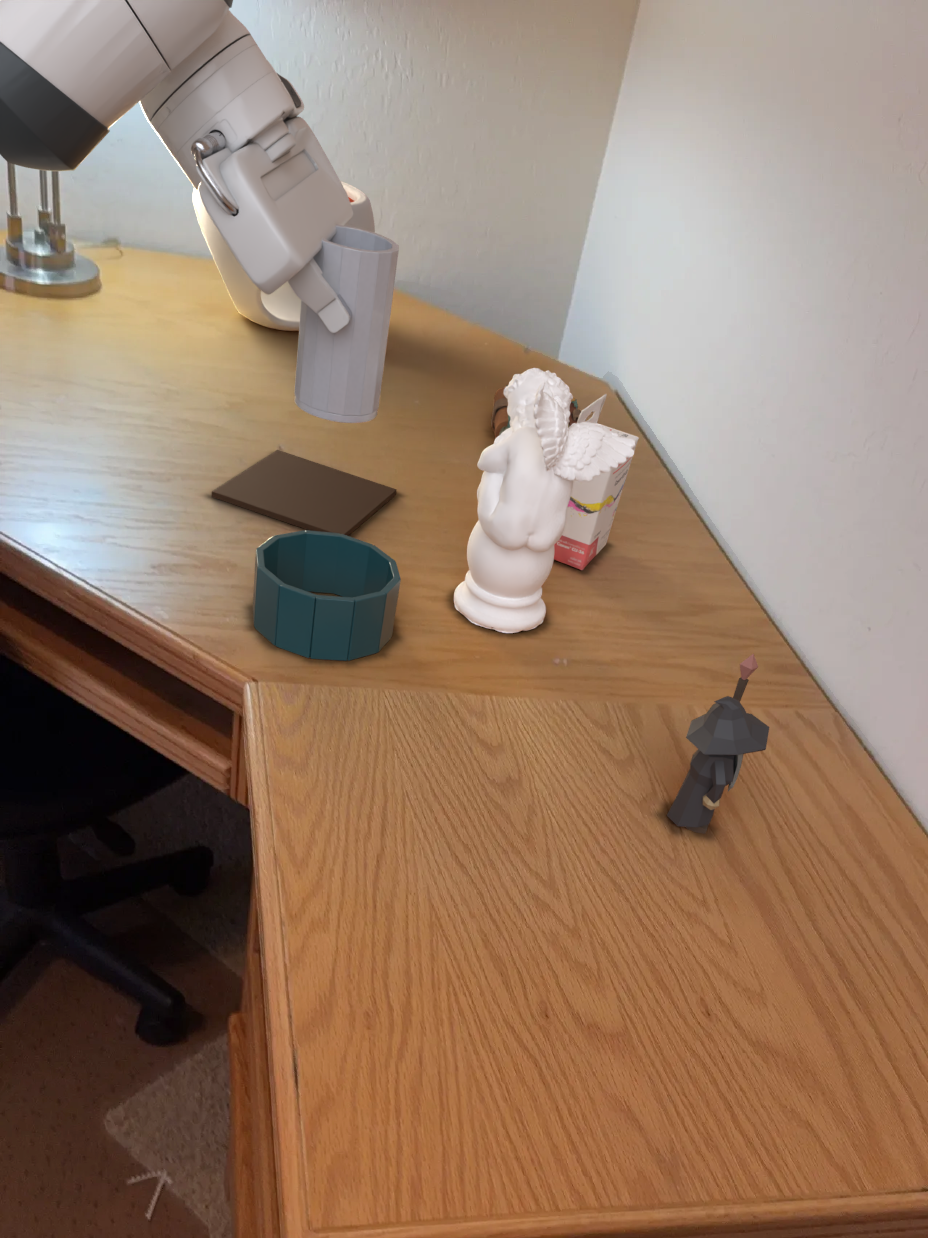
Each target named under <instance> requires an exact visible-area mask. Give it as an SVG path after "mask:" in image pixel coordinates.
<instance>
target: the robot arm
mask: <svg viewBox="0 0 928 1238" xmlns="http://www.w3.org/2000/svg"><path fill="white" fill-rule="evenodd" d="M233 3H234V0H0V156H1V158H3V160H4V161H6V162H7V163H8V164H11V165H15V166H19V167H23V168H26V169H32V170H39V171H44V172H45V171H47V172H48V171H49V172H71V171H73V172H74V171H75V170H76V169H77V168H78V167H79V166H80V165H81V164H82V163H83V162H84V161H85V159H86V158H87V157H88V156H89V155H90V154H91V153H92V152H93V151H94V149H95V148H96V147H97V146H98V145H99V144H100V143H101V142H102V141H103V140H104V139H105V137H106V136H107V135H108V134H109V133H110V132H111V129H110V128H111V127H112V126H114V124H116V123H117V122H118V121H119V120H120V119H122V117H124V116H125V115H126V114H127V113H128V112H129V111H131V109H133V108H134V107H135V106H137V104H138V103H139V105H140V108H141V110H142V113H143V114H144V117H145V118H146V120H147V122H148V123H149V125H150V126H151V128H152V129H153V130H154V132H155V133H156V135H157V136H158V137H159V139H160V140H161V142H162V143H163V145H164V147H166V150H168V152H169V153H170V155H171V156H172V157H173V159H174V161H175V162H176V163H177V165H178V166H179V168H180V169H181V170H182V172H183V173H184V175H185V176H186V177H187V179H188V181H189V183H191V185H192V186H193V188H194V187H195V189H196V190H199V195H200V198H201V200H202V203H203V205H204V207H205V209H206V211H207V212H208V214H209V216H210V218H211V219H212V221H213V223H214V224H215V226H216V228H217V229H218V231H219V232H220V234H221V236H222V237H223V239H224V240H225V242H226V244H227V245H228V247H229V248H230V250H231V251H232V253H233V255H234V256H235V258H236V259H237V261H238V262H239V264H240V265H241V267H242V268H243V270H244V271H245V273H246V274H247V276H248V277H249V279H250V280H251V281H252V282H253V283H254V284H255V285H256V286H257V287H258V288H259V289H260V290H261V291H263V292H264V293H265V294H271V293H273V292H274V291H275V290H277V289H278V288H279V287H281V286H282V285H283V284H285V283H286V282H287V283H288V284H289V286H290V287H291V288H292V290H293V291H294V293H295V294H296V296H297V297H298V298H300V299H301V300H302V301H303V302H304V303H305V304H306V305H307V306H309V307H310V308H311V309H312V310H313V311H314V312H315V313H317V314H318V316H319V317H320V319H321V320H322V322H323V323H324V324H325V326H326V327H327V329H328V330H329V331H330V332H331V333H337V332H338V331H339V330H341V329H342V328H343V327H345V326H346V325H347V324H348V323H349V321H350V320H351V318H352V311H351V310H350V308H349V307H348V306H347V304H346V302H345V301H344V299H343V298H342V296H341V295H340V294H339V295H337V294H336V293H335V292H334V290H333V289H332V288H331V286H330V285H329V284H328V283H327V281H326V280H325V279H324V278H323V276H322V271H321V269H320V267H319V266H318V264H317V263H316V261H315V260H314V258H313V257H314V256H315V255H316V254H317V253H318V252H319V251H320V250H321V249H322V246H323V244H322V239H325V240H327V241H330V240H331V239H332V238H333V236H334V235H335V234H336V232H337V229H336V227H335V225H345V224H346V223H347V222H348V221H349V220H350V219H351V218H352V216H353V210H352V207H351V204H350V201H349V198H348V196H347V193H346V191H345V189H344V187H343V185H342V183H341V181H342V180H341V179H340V177H339V176H338V174H337V173H336V170H335V169H334V167H333V165H332V163H331V161H330V159H329V158H328V156H327V154H326V152H325V150H324V149H323V147H322V145H321V143H320V141H319V140H318V139H317V137H316V135H315V133H314V131H313V130H312V128H311V127H310V125H309V124H308V123H307V121H306V120H304V118H303V117H301V116H299V115H300V114H301V113H302V112H303V111H304V110H305V104H304V101H303V100H302V98H301V96H300V94H299V93H298V92H297V90H296V88H295V86H294V85H293V83H291V82H290V81H289V80H288V79H287V78H286V77H284V76H283V75H281V74H279V73H278V72H277V71H276V69H275V68H274V67H273V65H272V64H271V62H270V61H268V59H267V57H266V56H265V55H264V53H263V52H262V50H261V48H260V47H259V45H258V44H257V42H256V40H255V39H254V37H253V36H252V34H251V32H250V30H248V28H247V27H246V26H245V25H244V24H243V23H242V21H240V20H239V19H238V18H237V16H236V15H234V14H233V13H232V11H231V10H230V9H231V8H232V7H233Z"/></svg>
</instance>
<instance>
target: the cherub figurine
mask: <svg viewBox="0 0 928 1238" xmlns="http://www.w3.org/2000/svg"><path fill="white" fill-rule="evenodd" d="M507 385H508V386H507V387H506V386H504V387H505V389H504V396H505V397H506V398H507V399H508V407H507V413H508V415H509V416H510V418H511V420H510V428H508V429H506V430H505V431H504V432H502V433H501V435H499V436H498V437H497V438H496V439H495V438H494V441H493V444H491V445H488V446H487V447H486V448H484V449H483V450H482V452H481V454H480V456H479V459H478V461H477V465H476V466H477V469H479V470H480V471H483V472H482V475H481V479H480V482H479V485H478V487H477V490H476V499H477V518H478V520H477V522H476V523H475V525H474V527H473V528H472V530H471V533H470V534H469V538H468V540H467V547H466V560H467V565H468V570H467V572H466V574H465V576H464V580H463V581H461V582H460V583H459V584H457V586H456V588H455V590H454V593H453V603H454V604H453V605H454V608H455V610H456V611H458V612H459V613H460V614H461V615H463V616H464V617H465V618H466V619H467V620H468V621H469V622H470V623H472V624H474V625H475V626H480V627H483V628H485V629H490V630H495V631H497V632H499V633H503V634H513V633H514V634H515V633H519V632H521V631H523V632H525V631H526V632H527V631H530V630H533V629H536V628H537V627H538V626H539V625H541V624H543V623H544V620H545V617H546V613H547V606H546V603H545V601H544V600H543V598H542V596H543V587H542V586H543V585H544V584H545V582H546V581H547V579H548V578H549V576H550V574H551V571H552V569H553V566H554V561H555V560H554V551H555V550H554V544H555V543H556V542H557V541H558V540H559V539H560V538H561V536H562V534H563V531H564V528H565V524H566V514H567V507H568V503H569V500H570V497H571V493H572V489H573V483H574V479H575V480H576V481H577V482H580V483H581V482H583V481H587V482H589V481H591V480H592V479H593V476H599V475H600V472H602V473H607V472H609V471H610V468H613V469H614V468H617V467H618V464H623V463H625V462H626V460H627V459H626V458H629V457H632V456H633V457H634V455H635V451H634V450H633V449H632V448H633V447H634V446H635V441H634V440H633V439H629V438H625V437H619V436H618V435H619V434H617V433H614V432H612V431H610V430H608V429H607V428H606V427H603V425H604V424H602V425H601V423H598V422H597V423H590V422H586V420H585V421H584V422H581V423H577V424H576V423H573V424H572V425H571V426H570V427H569V428H568V423H569V422H570V421H569V416H570V411H569V406H570V404H571V400H572V399H573V397H574V396H573V394H572V392H571V390H570V389H571V388H570V386H569V385H568V384H566V383H565V381H564V380H562V379H561V377H559V376H558V375H557V373H555V372H551V371H550V370H549V369H547V370H545V371H544V370H543V369H541V368H539V367H533V368H529V369H526V370H524V371H523V372H522V373H515V374H513V376H512V379H511V380H509V382H508V384H507ZM633 457H632V458H633Z"/></svg>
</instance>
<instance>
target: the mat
mask: <svg viewBox="0 0 928 1238" xmlns="http://www.w3.org/2000/svg"><path fill="white" fill-rule="evenodd" d="M397 490H398V489H396V488H394V487H390V486H387V485H386V484H385V485H384V484H381V483H378V482H376V481H373V480H370V479H366V478H363V477H361V476H357V475H354V474H352V473H349V472H346V471H343V470H340V469H337V468H334V467H331V466H329V465H328V466H327V465H325V464H322V463H318V462H316V461H312V460H309V459H307V458H304V457H300V456H298V455H295V454H292V453H288V452H286V451H282V450H280V449H276V450H274V451H273V452H271V453H269V454H268V455H266V456H265V457H263V458H262V459H260V460H259V461H257V462H255V463H254V464H253V465H251V466H249V467H248V468H246V469H244V470H243V471H241V472H240V473H238V474H236V475H235V476H234V477H232V478H231V479H229V480H227V481H226V482H224V483H222V484H221V485H219V486H217V488H215V489H213V490H212V491H211V498H213V499H217V500H219V501H222V502H225V503H229V504H231V505H233V506H237V507H240V508H243V509H246V510H249V511H252V512H254V513H258V514H260V515H263V516H266V517H268V518H272V519H275V520H278V521H280V522H284V523H287V524H289V525H293V526H296V527H299V528H301V529H304V530H309V531H320V532H330V533H340V535H341V534H344V535H347V536H350V535H351V534H352V533H353V532H354V531H356V530H357V529H358V528H359V527H361V526H362V525H363V524H364V523H365V522H367V521H368V519H370V518H372V516H373V515H374V514H376V513H377V512H378V511H379V510H380V509H381V508H382V507H384V505H386V504H387V503H389V501H391V500H392V499H393V498H394V497H395V496H396V495H397Z"/></svg>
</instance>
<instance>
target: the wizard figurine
mask: <svg viewBox="0 0 928 1238" xmlns="http://www.w3.org/2000/svg"><path fill="white" fill-rule="evenodd" d="M758 668H759V665H758V662H757V659H756V656H755V654H754V653H751V655H750V656H748V657H747V658H745V659H744V660H743V661H741V662H740V663H739V670H740V677H739V678H738V681H737V683H736V687H735V690H734V693H733V696H729V695H726V696H724V697H720V698H719V699H717V700H714V701H713V704H712V705H711V707H710V708H709V709H708V710H707V712H706V713H704V714H702V715H700V716H698V717H696V718H694V719H692V720H691V721H690V724H689V726H688V730H687V733H686V736H685V738H686V739H687V741H689V742H690V743H691V744H692V745H693V746H694V747H695V748H696V751H695V752H694V753H693V754H692V755H691V759H690V763H689V770H688V771H687V774H686V776H685V777H684V780H683V782H682V784H681V786H680V787H679V790H678V792H677V794H676V796H675V798H674V800H673V803H672V805H671V806H670V807H669V810H668V812H667V814H666V816H667V818H668V819H670V821H672V822H673V823H674V824H675V825H676V826H677V827H684V828H685V829H686V830H689V831H691V832H694V833H697V834H703V835H704V834H706V833H707V831H708V828H709V825H710V823H711V821H712V819H713V816H714V813H715V809H717V808H718V807H720V803H721V799H722V796H723V793H724V791H725V789H726V786H727V792H729V791H731V790H732V789H733V788H734V786H735V784H736V782H737V780H738V777H739V773H740V771H741V767H742V764H743V760H744V755H745V754H751V753H757V752H763V751H766V749H767V745H768V739H769V734H770V733H769V732H770V726H769V725H768V724H766V723H765V722H763V721H762V720H760V719H759V718H758V717H757V716H756V715H754V714H752V713H748V712H747V711H746V709H745V707H744V706H743V705H742V703H741V700H742V698H743V695H744V693H745V692H746V691H745V690H746V688H747V686H748V684H749V680H750V679H749V677H750V676H751V675H752V674H753V673H754V672H755V671H756V670H757V669H758Z"/></svg>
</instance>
